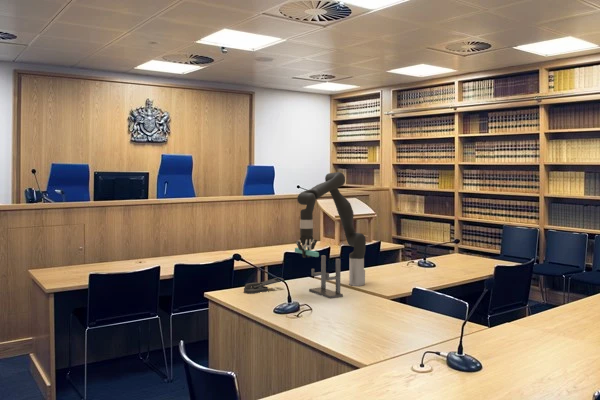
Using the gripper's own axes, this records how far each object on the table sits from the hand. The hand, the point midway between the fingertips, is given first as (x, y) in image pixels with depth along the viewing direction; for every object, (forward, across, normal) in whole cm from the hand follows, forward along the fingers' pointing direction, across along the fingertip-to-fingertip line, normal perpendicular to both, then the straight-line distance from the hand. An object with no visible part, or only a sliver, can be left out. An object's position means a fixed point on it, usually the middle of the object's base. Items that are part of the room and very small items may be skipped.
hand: (306, 257), depth 305 cm
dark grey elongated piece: (+23, +14, -27) cm, 38 cm away
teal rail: (-2, 0, 0) cm, 2 cm away
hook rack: (+23, -13, 0) cm, 27 cm away
